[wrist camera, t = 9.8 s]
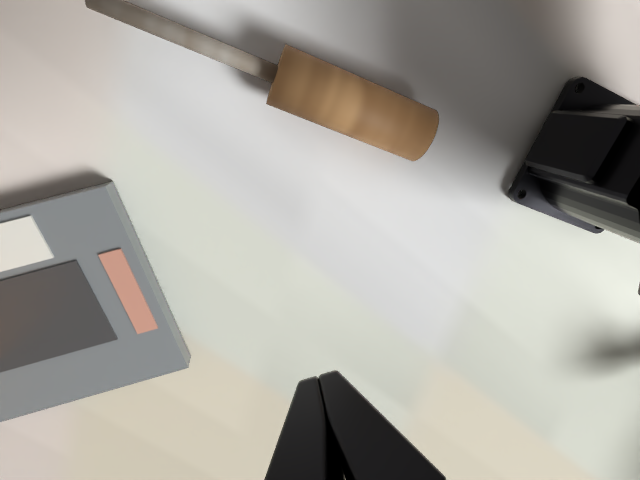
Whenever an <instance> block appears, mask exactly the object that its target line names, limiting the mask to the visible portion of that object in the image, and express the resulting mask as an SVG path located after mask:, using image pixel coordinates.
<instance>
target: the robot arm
mask: <svg viewBox="0 0 640 480" xmlns="http://www.w3.org/2000/svg"><path fill="white" fill-rule="evenodd" d="M577 84H578V90H577V91H576V92H575V87H576V85H577ZM520 190H522V193H521V195H520V196H518V192H519V191H520ZM509 198H510V199H511V200H512V201H514V202H516V203H519V204H521V205H524V206H526V207H529V208H531V209H534V210H536V211H539V212H542V213H544V214H547V215H549V216H552V217H554V218H557V219H559V220H562V221H565V222H567V223H570V224H572V225H575V226H577V227H580V228H582V229H585V230H588V231H590V232H593V233H601V232H602V231H604V229H605V230H608V231H610V232H613V233H615V234H618V235H620V236H623V237H625V238H627V239H630V240H632V241H635V242H637V243H640V105H636V104H634V103H632V102H630V101H628V100H626V99H624V98H623V97H621V96H619V95H617V94H615V93H613V92H611V91H609V90H608V89H606V88H604V87H602V86H600V85H598V84H596V83H594V82H592V81H591V80H589V79H587V78H584V77H575V78H572V79H570V80H569V81H568V82H567V83H566V85H565V87H564V89H563V90H562V92H561V94H560V96H559V98H558V100H557V102H556V104H555V105H554V107H553V109H552V111H551V113H550V114H549V116H548V118H547V120H546V122H545V124H544V126H543V128H542V129H541V131H540V133H539V135H538V137H537V139H536V141H535V143H534V144H533V146H532V148H531V150H530V152H529V154H528V156H527V158H526V160H525V162H524V164H523V166H522V167H521V169H520V171H519V173H518V175H517V177H516V179H515V181H514V182H513V184H512V186H511V188H510V190H509ZM638 294H639V295H640V284H639V289H638ZM344 476H345V477H344ZM345 479H346V480H446V477H445V476H444V475H443V474H442V473H441V472H440V471H439V470H438V469H437V468H436V467H435V466H434V465H433V464H432V463H431V462H430V461H429V460H428V459H427V458H426V457H425V456H424V455H423V454H422V453H421V452H420V451H419V450H418V449H417V448H416V447H415V446H414V445H413V444H412V443H411V442H410V441H409V440H408V439H406V438H405V437H404V436H403V435H402V434H401V433H400V432H399V431H398V430H397V429H396V428H395V427H394V426H393V425H392V424H391V423H390V422H389V421H388V420H387V419H386V418H385V417H384V416H383V415H382V414H381V413H380V412H379V411H378V410H377V409H376V408H375V407H374V406H373V405H372V404H371V403H370V402H369V401H368V400H367V399H366V398H365V397H364V396H363V395H362V394H361V393H360V392H359V391H358V390H357V389H356V388H355V387H354V386H353V385H352V384H351V383H350V382H349V381H348V380H347V379H346V378H345V377H344V376H342V375H341V374H340V373H339V372H338V371H336V370H334V371H331V372H327V373H324V374H321V375H320V376H319V379H318V377H316V376H314V377H311V378H307V379H304V380H301V381H300V382H299V383H298V385H297V388H296V391H295V394H294V397H293V399H292V402H291V405H290V408H289V411H288V414H287V417H286V419H285V422H284V425H283V428H282V431H281V434H280V437H279V439H278V442H277V445H276V448H275V451H274V454H273V457H272V459H271V462H270V465H269V468H268V471H267V474H266V477H265V479H264V480H345Z"/></svg>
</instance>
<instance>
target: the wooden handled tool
mask: <svg viewBox="0 0 640 480" xmlns="http://www.w3.org/2000/svg"><path fill="white" fill-rule="evenodd" d="M85 2H86V6H87V8H89V9H92V10H94V11H97V12H99V13H102V14H104V15H107V16H109V17H112V18H114V19H116V20H119V21H121V22H124V23H126V24H129V25H131V26H134V27H136V28H138V29H141V30H143V31H146V32H148V33H151V34H153V35H156V36H158V37H161V38H163V39H165V40H168V41H170V42H173V43H175V44H178V45H180V46H183V47H185V48H187V49H190V50H192V51H195V52H197V53H200V54H202V55H205V56H207V57H210V58H212V59H214V60H217V61H219V62H222V63H224V64H227V65H229V66H232V67H234V68H236V69H239V70H241V71H244V72H246V73H249V74H251V75H254V76H256V77H259V78H261V79H263V80H266V81H268V82H271V83H272V84H271V88H270V91H269V95H268V98H267V102H266V104H268V105H270V106H273V107H275V108H278V109H280V110H283V111H286V112H288V113H291V114H293V115H296V116H298V117H301V118H303V119H306V120H309V121H311V122H314V123H316V124H319V125H321V126H324V127H326V128H329V129H332V130H334V131H337V132H339V133H342V134H344V135H347V136H349V137H352V138H355V139H357V140H360V141H362V142H365V143H367V144H370V145H372V146H375V147H378V148H380V149H383V150H385V151H388V152H390V153H393V154H395V155H398V156H401V157H403V158H406V159H408V160H411V161H416V160H418V159H419V158H421V157H422V156H423V155H424V154H425V152H426V151H427V150H428V148H429V147H430V145H431V143H432V141H433V139H434V137H435V134H436V131H437V128H438V123H439V115H438V112H437V111H436V110H434V109H432V108H430V107H427V106H425V105H423V104H421V103H418V102H416V101H414V100H412V99H409V98H407V97H405V96H402V95H400V94H398V93H396V92H393V91H391V90H389V89H387V88H384V87H382V86H380V85H377V84H375V83H373V82H371V81H368V80H366V79H364V78H362V77H359V76H357V75H355V74H353V73H350V72H348V71H346V70H343V69H341V68H339V67H337V66H334V65H332V64H330V63H328V62H325V61H323V60H321V59H318V58H316V57H314V56H312V55H309V54H307V53H305V52H303V51H300V50H298V49H296V48H293V47H291V46H289V45H287V44H285V46H284V49H283V51H282V54H281V57H280V60H279V63H278V66H277V65H275V64H273V63H270V62H268V61H266V60H263V59H261V58H258V57H256V56H254V55H251V54H249V53H247V52H244V51H242V50H240V49H237V48H235V47H232V46H230V45H228V44H225V43H223V42H221V41H218V40H216V39H213V38H211V37H209V36H206V35H204V34H202V33H199V32H197V31H195V30H192V29H190V28H187V27H185V26H183V25H180V24H178V23H176V22H173V21H171V20H169V19H166V18H164V17H161V16H159V15H157V14H154V13H152V12H150V11H147V10H145V9H142V8H140V7H138V6H135V5H133V4H131V3H128V2H126V1H124V0H85Z"/></svg>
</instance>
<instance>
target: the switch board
mask: <svg viewBox="0 0 640 480" xmlns="http://www.w3.org/2000/svg"><path fill="white" fill-rule="evenodd" d="M190 358H191V355H190V352H189V350H188V348H187V346H186V344H185V341H184V339H183V337H182V335H181V332H180V330H179V328H178V326H177V323H176V321H175V319H174V317H173V314H172V312H171V310H170V308H169V305H168V303H167V301H166V299H165V296H164V294H163V292H162V290H161V287H160V285H159V283H158V281H157V279H156V276H155V274H154V272H153V270H152V267H151V265H150V263H149V261H148V258H147V256H146V254H145V252H144V249H143V247H142V245H141V243H140V240H139V238H138V236H137V234H136V231H135V229H134V227H133V225H132V222H131V220H130V218H129V216H128V214H127V211H126V209H125V207H124V205H123V202H122V200H121V198H120V196H119V193H118V191H117V189H116V187H115V184H114V182H113V181H112V182H108V183H104V184H100V185H96V186H92V187H88V188H84V189H80V190H77V191H73V192H69V193H65V194H61V195H57V196H53V197H49V198H45V199H41V200H37V201H34V202H30V203H26V204H22V205H18V206H14V207H10V208H6V209H2V210H0V422H2V421H6V420H9V419H13V418H16V417H20V416H23V415H27V414H30V413H34V412H37V411H41V410H44V409H47V408H51V407H54V406H58V405H61V404H65V403H68V402H72V401H75V400H79V399H82V398H85V397H89V396H92V395H96V394H99V393H103V392H106V391H110V390H113V389H117V388H120V387H124V386H127V385H130V384H134V383H137V382H141V381H144V380H148V379H151V378H155V377H158V376H162V375H165V374H168V373H172V372H175V371H179V370H182V369H186V368H188V366H189V362H190Z"/></svg>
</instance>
